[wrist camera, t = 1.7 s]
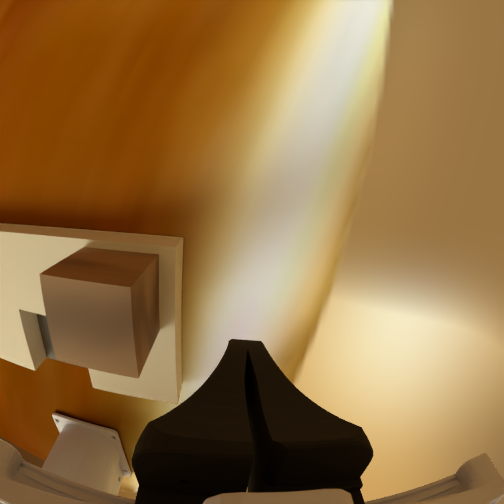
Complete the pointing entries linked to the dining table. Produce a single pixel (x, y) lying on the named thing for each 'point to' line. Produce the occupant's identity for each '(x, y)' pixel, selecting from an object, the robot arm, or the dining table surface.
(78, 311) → the walnut block
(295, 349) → the dining table surface
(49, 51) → the dining table surface
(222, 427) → the robot arm
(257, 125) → the dining table surface
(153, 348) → the board
